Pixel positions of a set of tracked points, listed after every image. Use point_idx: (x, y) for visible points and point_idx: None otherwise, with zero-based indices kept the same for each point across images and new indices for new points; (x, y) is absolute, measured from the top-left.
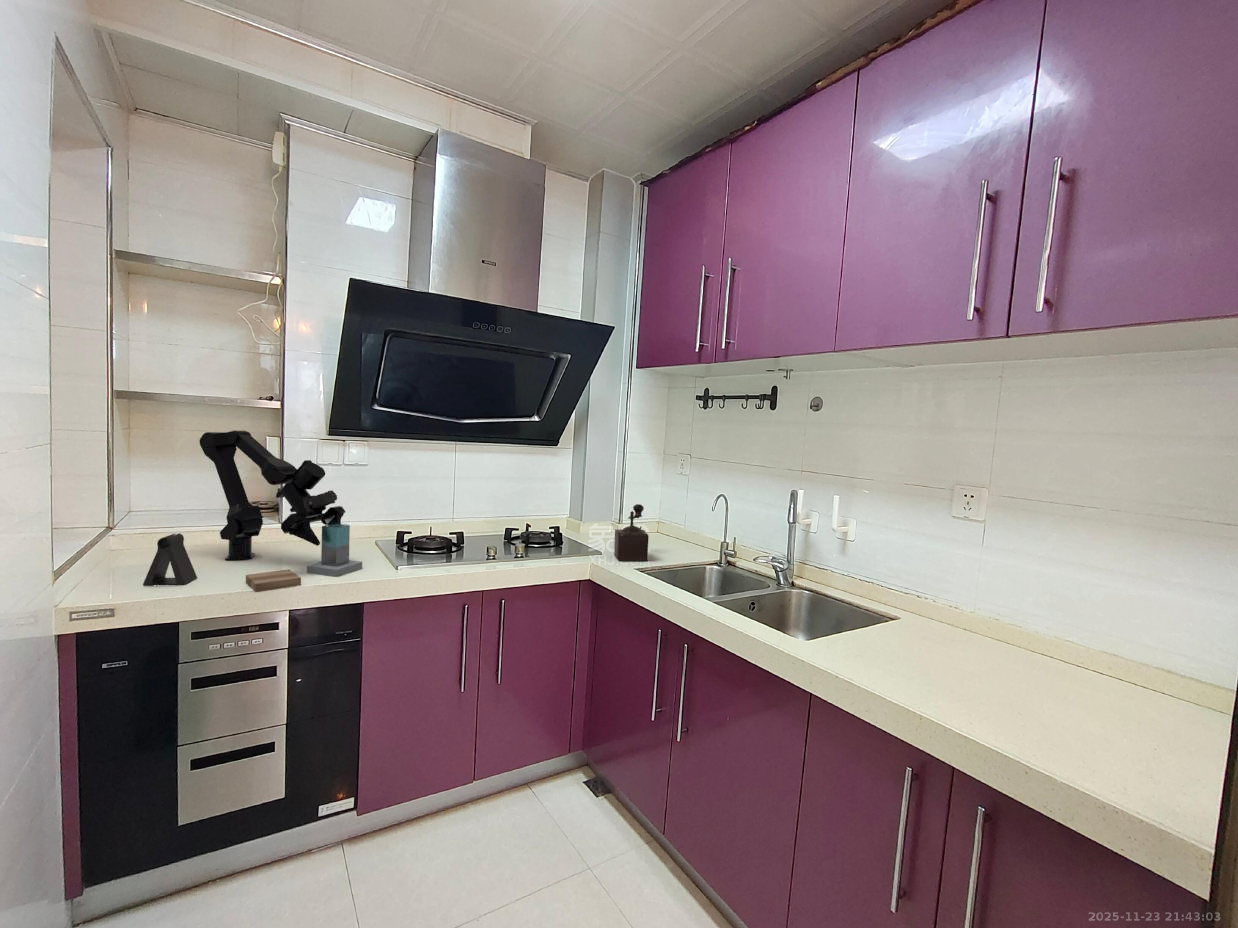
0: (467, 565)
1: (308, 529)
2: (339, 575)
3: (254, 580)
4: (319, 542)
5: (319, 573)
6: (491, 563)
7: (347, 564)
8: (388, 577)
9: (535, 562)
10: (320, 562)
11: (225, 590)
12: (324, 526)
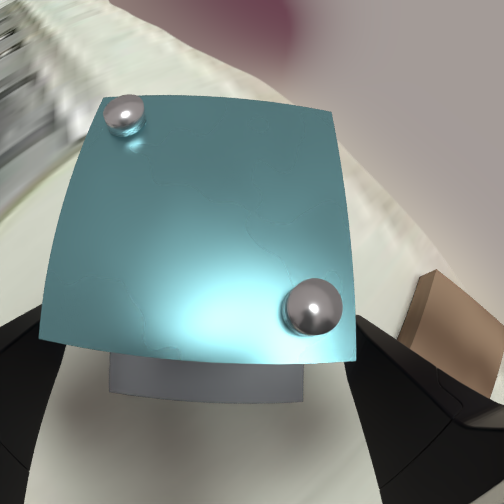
0: (66, 40)
1: (475, 394)
2: None
3: (496, 366)
4: (355, 316)
5: None
6: (52, 28)
7: None
8: (222, 94)
9: (51, 5)
10: (218, 392)
11: None
12: (348, 313)
